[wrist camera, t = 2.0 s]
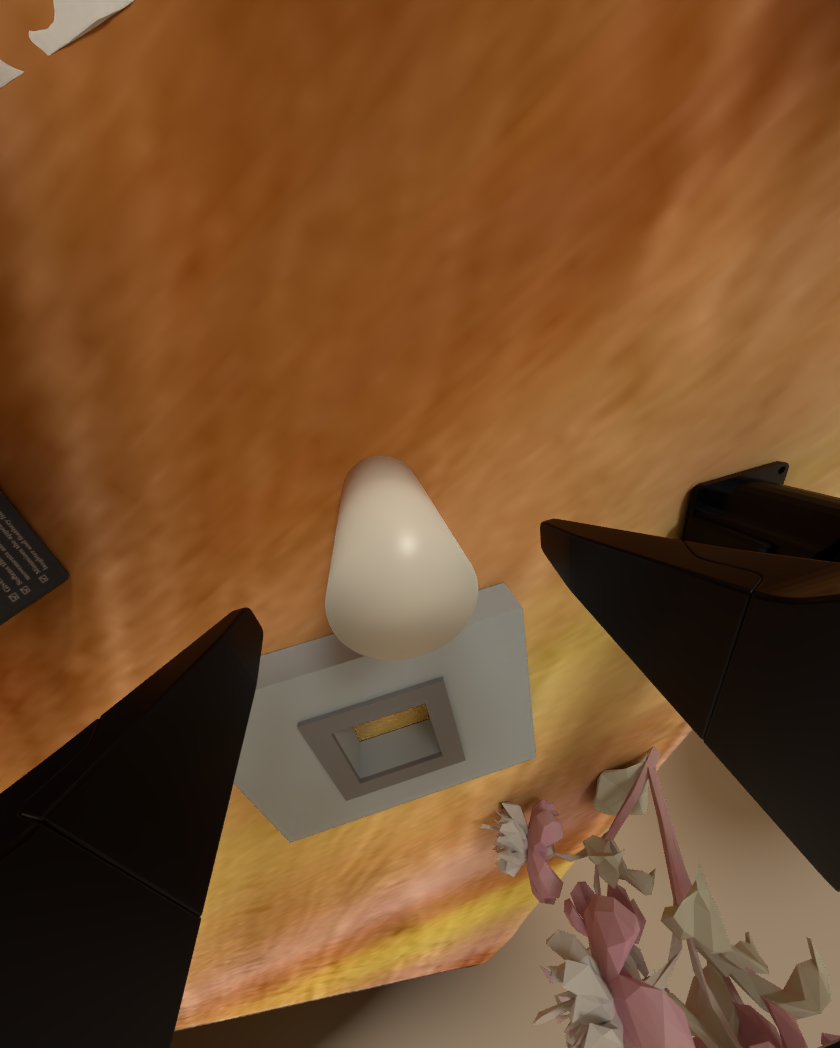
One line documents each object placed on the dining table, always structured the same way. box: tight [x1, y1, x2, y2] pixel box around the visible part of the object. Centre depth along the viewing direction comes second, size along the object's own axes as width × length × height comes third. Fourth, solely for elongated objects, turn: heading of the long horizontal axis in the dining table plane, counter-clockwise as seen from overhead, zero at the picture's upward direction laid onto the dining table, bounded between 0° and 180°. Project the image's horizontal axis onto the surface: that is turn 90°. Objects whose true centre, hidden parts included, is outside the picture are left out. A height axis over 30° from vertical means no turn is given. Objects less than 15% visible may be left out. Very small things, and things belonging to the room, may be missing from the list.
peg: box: [325, 456, 478, 660], centre depth 12 cm, size 4×4×9 cm
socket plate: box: [234, 583, 536, 842], centre depth 21 cm, size 20×16×3 cm
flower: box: [480, 747, 840, 1048], centre depth 24 cm, size 20×22×25 cm
